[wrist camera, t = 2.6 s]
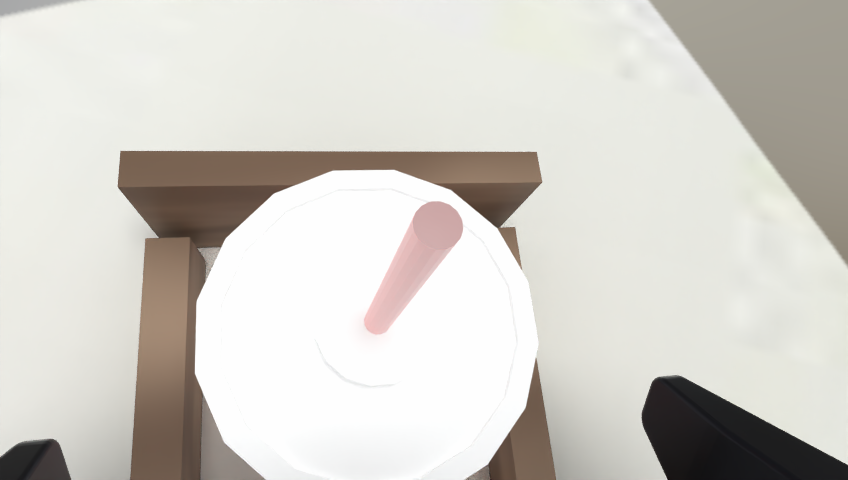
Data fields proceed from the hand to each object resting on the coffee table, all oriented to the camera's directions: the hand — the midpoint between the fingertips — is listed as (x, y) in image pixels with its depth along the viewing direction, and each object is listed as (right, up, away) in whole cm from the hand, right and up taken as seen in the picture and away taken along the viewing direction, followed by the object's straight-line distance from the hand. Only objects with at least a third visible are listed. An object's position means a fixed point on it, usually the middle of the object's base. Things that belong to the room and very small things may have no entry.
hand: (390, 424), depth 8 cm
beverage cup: (-2, -2, +10) cm, 10 cm away
